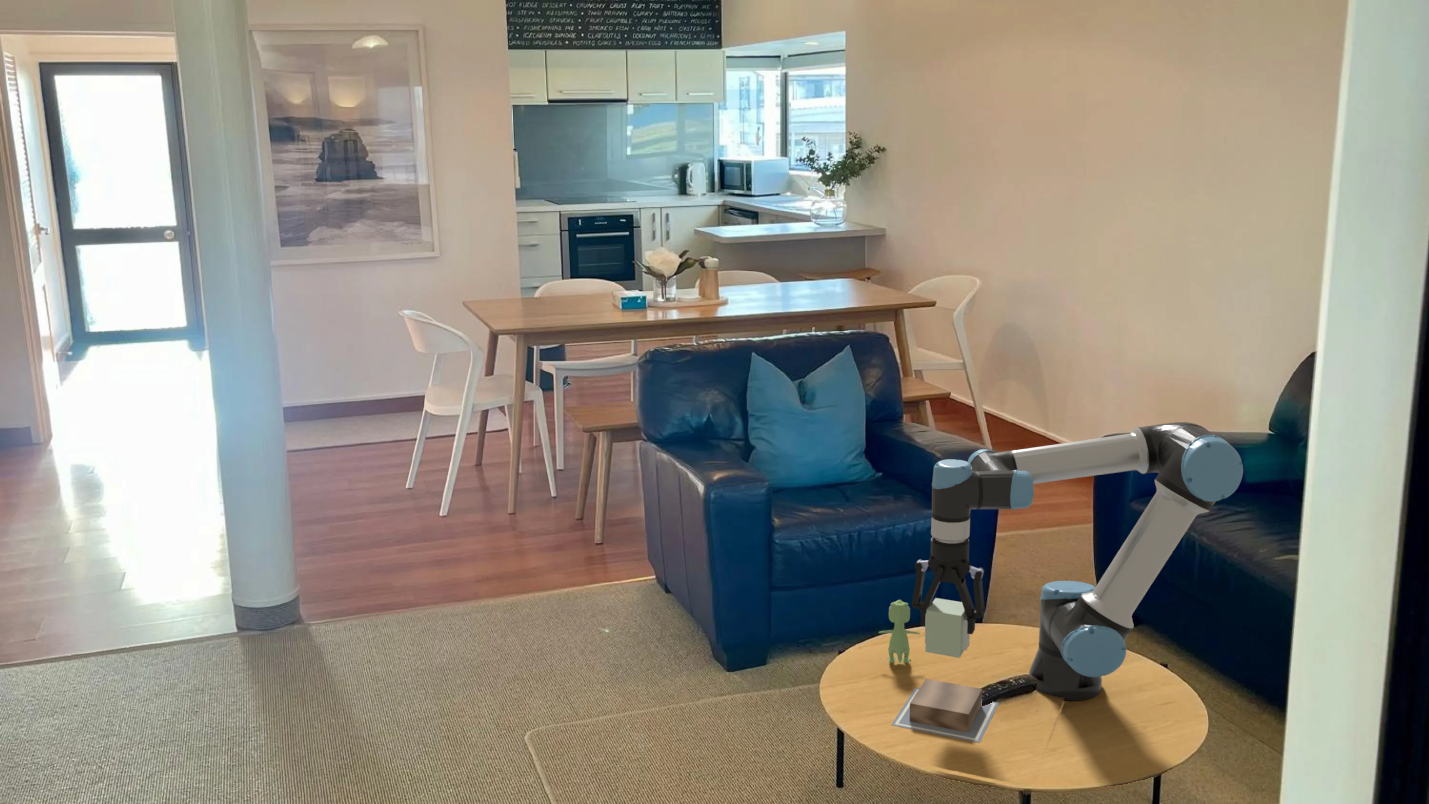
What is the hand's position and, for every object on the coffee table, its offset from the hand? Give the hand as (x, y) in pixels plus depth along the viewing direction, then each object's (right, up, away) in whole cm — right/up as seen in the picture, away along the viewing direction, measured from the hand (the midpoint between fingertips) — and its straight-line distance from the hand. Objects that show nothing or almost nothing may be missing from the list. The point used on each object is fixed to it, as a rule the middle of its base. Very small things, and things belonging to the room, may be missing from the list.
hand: (947, 644), depth 239 cm
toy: (-5, -10, +28) cm, 30 cm away
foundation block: (0, -15, +3) cm, 15 cm away
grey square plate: (+1, -16, +4) cm, 16 cm away
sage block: (0, -1, 0) cm, 1 cm away
